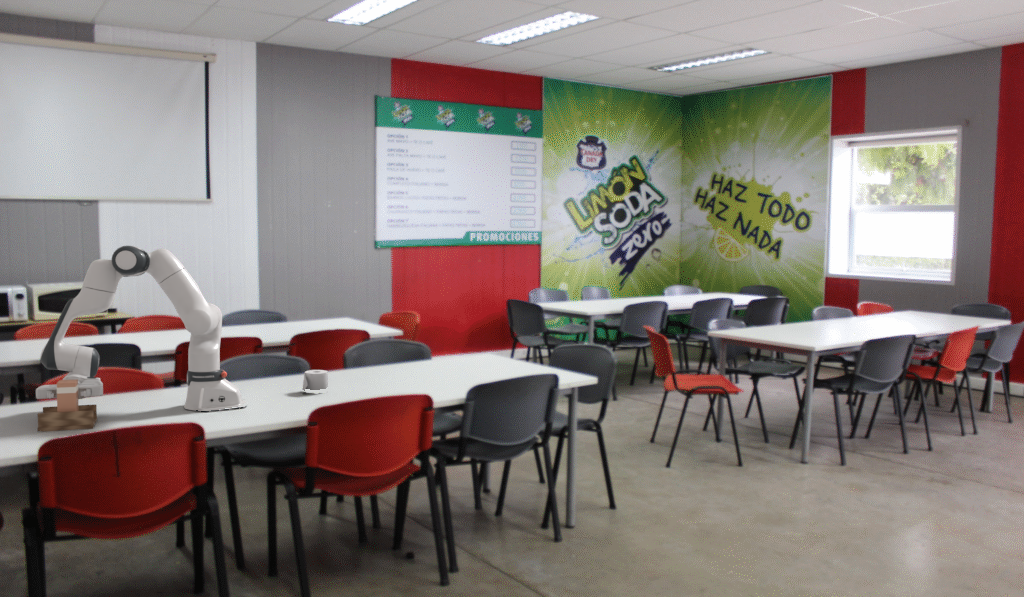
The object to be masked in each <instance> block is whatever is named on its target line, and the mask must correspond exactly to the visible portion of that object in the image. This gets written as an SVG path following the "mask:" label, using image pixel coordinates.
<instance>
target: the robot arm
mask: <svg viewBox="0 0 1024 597" xmlns="http://www.w3.org/2000/svg"><path fill="white" fill-rule="evenodd" d="M145 273H147V274H149V275H151V276H152V277H153V279H154V280H155V281H156V283H157V284H158V286H159V287H160V288H161V290H162V291H163V292H164V294H165V296H166V297H168V299H169V301H170V302H171V304H172V306H173V307H174V309H175V310H176V313H177V314H178V316H179V318H180V320H181V321H182V323H183V324H184V327H185V329H186V331H187V332H189V333H190V338H189V344H188V350H187V351H188V353H187V355H188V358H187V360H188V361H187V364H188V370H187V372H186V384H187V392H186V399H185V401H184V406H183V408H184V410H185V409H186V410H188V411H196V410H198V412H201V411H209V412H212V411H211V410H219V409H225V408H232V407H238V406H243V405H241V404H244V403H246V401H247V400H246V401H243V400H242V399H243V398H242V394H241V391H240V388H239V387H238V386H237V385H235V384H234V383H233V382H230V381H229V380H227V379H226V377H227V376H228V373H227V372H226V371H225V370H224V369H221V368H220V367H221V364H220V363H221V360H220V359H221V357H220V356H221V355H220V354H221V352H220V350H221V349H220V348H221V339H222V328H223V313H222V310H221V309H220V307H219V306H217V305H216V304H214V303H211V302H208V301H207V300H206V298H205V297H204V295H203V292H201V289H200V287H199V284H198V283H197V282H196V281H195V279H194V278H193V277H192V275H191V273H190V272H189V271H188V270H187V268H186V267H185V266H184V264H183V263H182V262H181V261H180V259H179V258H177V257H176V255H175V254H173V252H171V250H169V249H167V248H158V249H155V250H153V251H151V252H147V251H145V250H144V249H142V248H140V247H138V246H134V245H123V246H120V247H118V248H116V249H115V251H114V252H113V254H112V255H111V259H108V258H107V259H105V258H99V259H95V260H93V261H91V263H90V264H89V266H88V269H87V271H86V273H85V276H84V279H83V282H82V286H81V289H80V291H79V293H78V294H77V295H76V296H75V297H73V298H70V299H68V301H67V302H66V304H65V305H64V308H63V309H62V311H61V313H60V316H59V317H58V319H57V322H56V324H55V326H54V328H53V330H52V332H51V334H50V337H49V339H48V341H47V342H46V343H45V345H44V347H43V348H42V350H41V353H40V359H39V360H40V363H41V364H42V365H43V367H44V368H46V370H56V371H58V370H59V371H65V372H68V373H67V374H66V375H65V376H64V377H63V378H62V380H76V379H78V400H82V399H86V398H94V397H103V395H104V383H103V382H102V381H101V378H100V377H96V376H97V374H98V370H99V367H100V360H101V356H100V354H99V352H98V350H97V349H96V348H95V347H91V346H90V347H89V346H84V345H79V344H78V345H77V344H71V343H66V342H64V341H63V340H64V338H65V336H66V333H67V331H68V329H69V327H70V325H71V323H72V321H74V319H76V318H78V317H82V316H83V317H84V316H89V315H95V314H101V313H103V312H106V311H107V310H108V309H110V308H111V307H112V306H113V303H114V300H115V297H116V294H117V289H118V285H119V283H120V281H121V279H122V278H127V277H139V276H142V275H144V274H145ZM35 399H37V400H46V399H47V400H51V399H57V384H44V385H43V384H42V385H40V386H38V387H37V388H35ZM219 411H220V410H219Z"/></svg>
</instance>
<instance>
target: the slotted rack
mask: <svg viewBox="0 0 1024 597" xmlns="http://www.w3.org/2000/svg"><path fill="white" fill-rule="evenodd" d="M97 407H98V406H97V404H82V405H79V404H78V409H79V411H72V412H57V405H56V406H44V407H42V412H38V413H37V432H38V431H42V432H58V431H71V430H73V431H75V430H89V429H94V427H95V425H96V423H97V421H98V414H97V413H98V412H97V411H98V410H97Z"/></svg>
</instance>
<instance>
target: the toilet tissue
mask: <svg viewBox="0 0 1024 597" xmlns="http://www.w3.org/2000/svg"><path fill="white" fill-rule="evenodd" d="M327 387H328V388H329V371H328V370H324V369H310V370H306V371H304V374H303V382H302V390H304V391H305V389H310V390H320V389H326V388H327Z"/></svg>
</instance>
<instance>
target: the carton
mask: <svg viewBox="0 0 1024 597" xmlns="http://www.w3.org/2000/svg"><path fill="white" fill-rule="evenodd" d="M56 385H57V398H56V401H57V402H56V406H57V412H72V411H79V409H78V405H79V399H78V379H76V380H63V379H59V380H58V381H57V382H56Z"/></svg>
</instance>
